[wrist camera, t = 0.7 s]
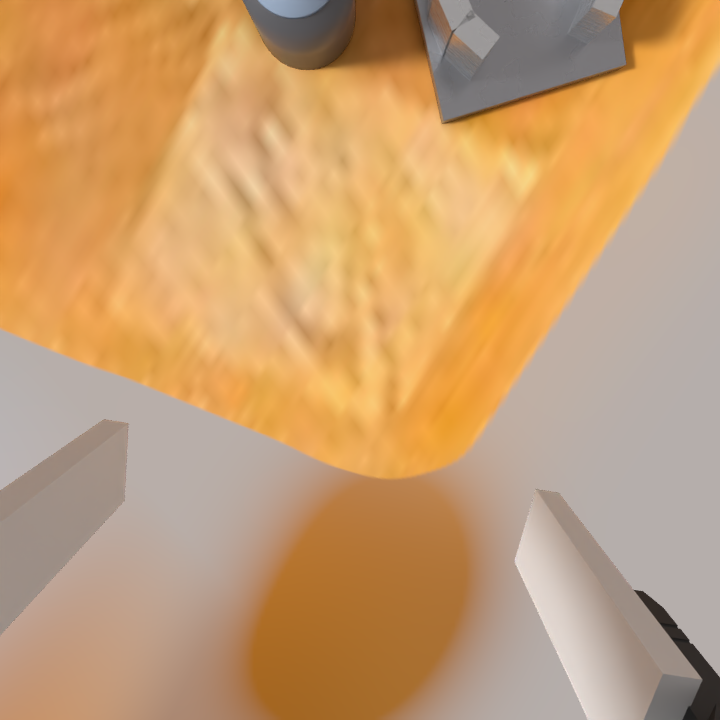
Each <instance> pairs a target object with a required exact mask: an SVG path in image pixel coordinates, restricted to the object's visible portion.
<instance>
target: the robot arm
mask: <svg viewBox="0 0 720 720" xmlns="http://www.w3.org/2000/svg"><path fill="white" fill-rule="evenodd" d="M127 443H128V423H124V422H117V421H112V420H105V419H104V420H102V421H101V422H99V423H98V424H97V425H95V426H93V427H92V428H91V429H89V430H88V431H86V432H85V433H83V434H82V435H80V436H79V437H78V438H76V439H75V440H73V441H72V442H70V443H69V444H67V445H66V446H65V447H63V448H61V449H60V450H59V451H57V452H56V453H54V454H53V455H51V456H50V457H49V458H47V459H46V460H44V461H43V462H41V463H40V464H38V465H37V466H35V467H34V468H32V469H31V470H29V471H28V472H27V473H25V474H24V475H22V476H21V477H19V478H18V479H16V480H15V481H14V482H12V483H11V484H9V485H8V486H6V487H5V488H3V489H2V490H0V635H1V634H2V633H3V632H4V631H5V630H6V629H7V628H8V626H9V625H10V624H11V623H12V622H13V621H14V620H15V619H16V618H17V617H18V616H19V615H20V613H21V612H22V611H23V610H24V609H25V608H26V607H27V606H28V605H29V604H30V602H31V601H32V600H33V599H34V598H35V597H36V596H37V595H38V594H39V593H40V592H41V591H42V590H43V589H44V587H45V586H46V585H47V584H48V583H49V582H50V581H51V580H52V579H53V578H54V577H55V576H56V574H57V573H58V572H59V571H60V570H61V569H62V568H63V567H64V566H65V564H67V562H68V561H69V560H70V559H71V558H72V557H73V556H74V555H75V554H76V553H77V551H79V549H80V548H81V547H82V546H83V545H84V544H85V543H86V542H87V541H88V540H89V538H90V537H91V536H92V535H93V534H94V533H95V532H96V531H97V530H98V529H99V528H100V527H101V526H102V525H103V523H104V522H105V521H106V520H107V519H108V518H109V517H110V516H111V515H112V514H113V513H114V511H115V510H116V509H117V508H118V507H119V506H120V505H121V504H122V503H123V502H124V500H125V481H126V462H127ZM514 562H515V564H516V566H517V568H518V570H519V573H520V575H521V577H522V579H523V581H524V583H525V585H526V588H527V590H528V592H529V594H530V596H531V598H532V600H533V603H534V605H535V607H536V609H537V611H538V613H539V615H540V617H541V620H542V622H543V624H544V626H545V628H546V630H547V632H548V635H549V637H550V639H551V641H552V643H553V645H554V648H555V650H556V652H557V654H558V656H559V658H560V660H561V662H562V665H563V667H564V669H565V671H566V673H567V675H568V678H569V680H570V682H571V684H572V686H573V688H574V690H575V692H576V695H577V696H578V699H579V701H580V703H581V705H582V707H583V710H584V712H585V714H586V716H587V718H588V720H720V677H719V676H718V675H717V673H716V672H715V671H714V670H713V669H712V667H711V666H710V665H709V664H708V662H707V661H706V660H705V659H704V657H703V656H702V655H701V654H700V652H699V651H698V650H697V649H696V648H695V646H694V645H693V644H690V642H689V639H688V638H687V637H686V635H685V634H684V633H683V632H682V630H681V629H678V628H677V624H676V623H675V622H674V620H673V619H672V618H671V617H670V616H669V614H668V613H667V612H666V611H665V609H664V608H663V607H662V606H660V605H659V604H658V603H657V602H655V601H654V600H653V599H652V598H651V597H649V596H648V595H647V594H646V593H644V592H643V591H637V590H633V589H632V587H631V586H630V585H629V584H628V582H627V581H626V579H625V578H624V577H623V576H622V574H621V573H620V572H619V570H618V569H617V568H616V566H615V565H614V564H613V563H612V561H611V560H610V559H609V558H608V556H607V555H606V554H605V552H604V551H603V550H602V548H601V547H600V546H599V544H598V543H597V542H596V541H595V539H594V538H593V537H592V535H591V534H590V533H589V531H588V530H587V529H586V528H585V526H584V525H583V524H582V522H581V521H580V520H579V519H578V517H577V516H576V515H575V513H574V512H573V511H572V509H571V508H570V507H569V506H568V504H567V503H566V502H565V500H564V499H563V498H562V496H561V495H560V494H559V493H557V492H551V491H545V490H538V489H536V490H535V493H534V497H533V500H532V503H531V507H530V510H529V514H528V517H527V521H526V524H525V527H524V531H523V534H522V537H521V541H520V544H519V547H518V551H517V554H516V558H515V561H514Z"/></svg>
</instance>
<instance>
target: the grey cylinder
mask: <svg viewBox="0 0 720 720" xmlns="http://www.w3.org/2000/svg"><path fill="white" fill-rule="evenodd" d="M243 2H244V4H245V6H246V8H247V10H248V12H249V14H250V16H251V18H252V20H253V22H254V24H255V26H256V28H257V30H258V32H259V34H260V36H261V38H262V40H263V42H264V44H265V45H266V47H267V49H268V50H269V51H270V52H271V53H272V55H273V56H274V57H276V58H277V59H278V60H279V61H281V62H282V63H284V64H285V65H287V66H289V67H292V68H295V69H300V70H314V69H318V68H321V67H324V66H326V65H328V64H330V63H331V62H333V61H334V60H335V59H337V58H338V57H339V56H340V55H341V54H342V52H343V51H344V50H345V48H346V47H347V45H348V43H349V41H350V39H351V37H352V34H353V30H354V26H355V16H356V10H355V0H243Z"/></svg>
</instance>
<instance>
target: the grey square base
mask: <svg viewBox="0 0 720 720" xmlns="http://www.w3.org/2000/svg"><path fill="white" fill-rule="evenodd" d="M414 1H415V6H416V10H417V15H418V19H419V24H420V28H421V33H422V37H423V42H424V46H425V51H426V55H427V59H428V64H429V68H430V73H431V77H432V82H433V86H434V91H435V95H436V100H437V104H438V109H439V113H440V118H441V122H442V124H443V123H446V122H450V121H453V120H456V119H459V118H462V117H466V116H469V115H472V114H475V113H479V112H482V111H485V110H488V109H492V108H495V107H498V106H501V105H505V104H508V103H511V102H514V101H518V100H521V99H524V98H527V97H531V96H534V95H537V94H540V93H543V92H547V91H550V90H553V89H556V88H560V87H563V86H566V85H569V84H573V83H576V82H579V81H582V80H586V79H589V78H592V77H595V76H599V75H602V74H605V73H608V72H611V71H615V70H618V69H621V68H622V67H623V66H625V65H626V59H625V52H624V44H623V37H622V30H621V23H620V15H619V10H620V8H621V5H622V3H623V1H624V0H414Z"/></svg>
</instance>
